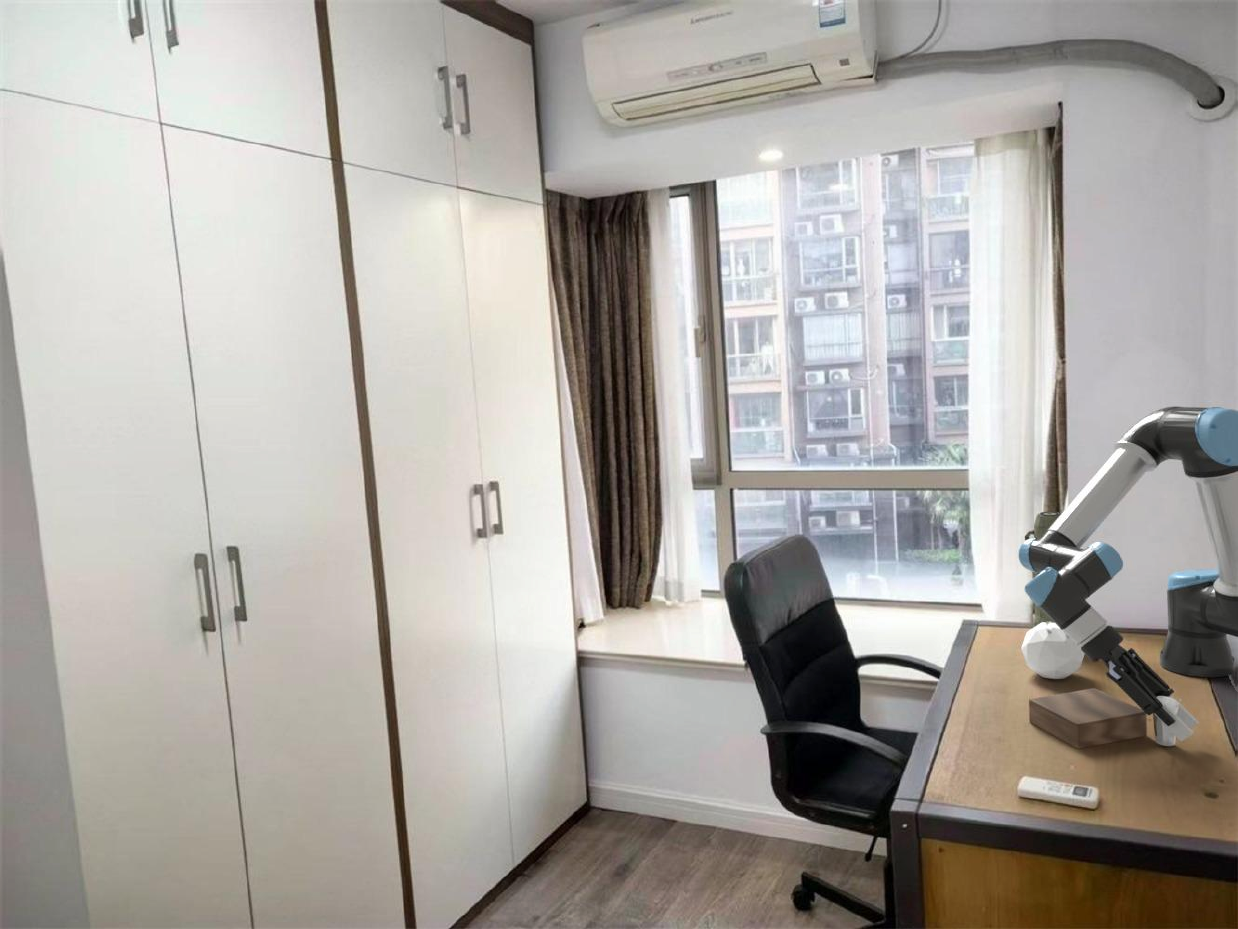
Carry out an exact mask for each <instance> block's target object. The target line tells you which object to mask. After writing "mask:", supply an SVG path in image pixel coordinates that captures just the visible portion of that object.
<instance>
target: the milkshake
mask: <svg viewBox="0 0 1238 929" xmlns="http://www.w3.org/2000/svg"><path fill="white" fill-rule="evenodd" d="M1157 699H1158V700H1159V701H1160V702H1161V703H1162V705H1165V704H1166V705H1167V706H1168V707H1169V708H1170V709H1171V710H1172V711H1173V712H1174V713H1175V714H1176V715H1177V716H1178V708H1179V703H1180V704H1181V701H1182V698H1180V699H1179V701H1178V700H1177V699H1176V700H1177V701H1178V702H1177V701H1176V700H1174V699H1173V698H1171V697H1166V696H1157ZM1152 719H1153V721H1152V722H1153V729H1154V741H1155V743H1157V745H1160V746H1163V747H1173V746H1175V745H1176V742H1177V741H1176V739H1177V737H1176V736H1175V735H1174V734H1173V733H1172V731H1171V730H1170V729H1169V728H1168V727H1167V726H1166V725H1165V724H1164V723H1163V722H1162V721H1161V720H1160V719H1159V718H1158V717H1157V716H1156V715H1155V714H1154V713H1153V714H1152Z"/></svg>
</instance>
